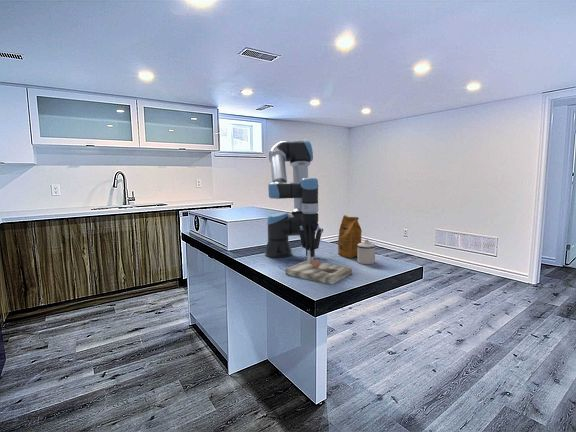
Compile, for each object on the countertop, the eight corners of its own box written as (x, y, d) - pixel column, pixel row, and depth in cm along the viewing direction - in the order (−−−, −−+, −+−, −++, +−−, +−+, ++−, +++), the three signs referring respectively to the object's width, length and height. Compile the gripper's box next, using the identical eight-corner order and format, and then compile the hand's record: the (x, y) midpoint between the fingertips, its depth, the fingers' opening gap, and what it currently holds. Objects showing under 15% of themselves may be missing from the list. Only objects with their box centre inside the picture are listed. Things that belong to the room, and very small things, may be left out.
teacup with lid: (379, 263, 159) (379, 240, 157) (363, 265, 155) (364, 242, 154) (365, 257, 170) (365, 236, 168) (350, 259, 166) (350, 237, 165)
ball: (317, 261, 141) (316, 270, 142) (322, 259, 144) (321, 268, 145) (310, 259, 144) (309, 267, 144) (315, 257, 147) (314, 265, 147)
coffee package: (349, 251, 183) (349, 213, 180) (363, 256, 172) (364, 216, 169) (335, 254, 178) (335, 215, 175) (349, 259, 167) (349, 217, 164)
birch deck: (285, 274, 144) (285, 268, 144) (307, 264, 158) (307, 259, 158) (332, 284, 130) (332, 278, 129) (351, 273, 144) (351, 267, 144)
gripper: (293, 212, 144) (294, 263, 147) (317, 214, 136) (318, 267, 139) (302, 211, 150) (303, 259, 153) (326, 212, 142) (326, 263, 145)
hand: (310, 263), depth 146 cm, fingers closed
